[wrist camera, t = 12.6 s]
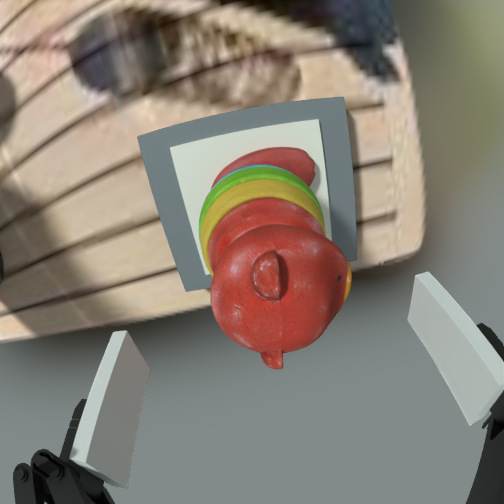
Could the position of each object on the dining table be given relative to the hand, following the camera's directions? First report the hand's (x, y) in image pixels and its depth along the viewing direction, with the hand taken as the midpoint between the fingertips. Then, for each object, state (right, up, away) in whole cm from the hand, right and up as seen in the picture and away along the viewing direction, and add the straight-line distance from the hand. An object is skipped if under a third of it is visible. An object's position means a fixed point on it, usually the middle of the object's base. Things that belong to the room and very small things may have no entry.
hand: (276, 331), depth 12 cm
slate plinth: (-1, +10, +19) cm, 21 cm away
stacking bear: (0, +8, +16) cm, 18 cm away
